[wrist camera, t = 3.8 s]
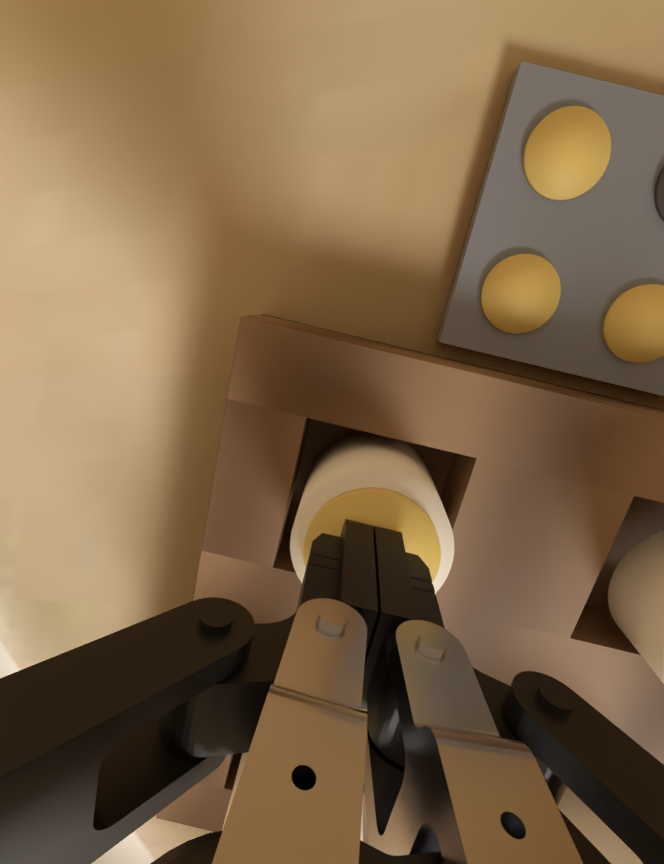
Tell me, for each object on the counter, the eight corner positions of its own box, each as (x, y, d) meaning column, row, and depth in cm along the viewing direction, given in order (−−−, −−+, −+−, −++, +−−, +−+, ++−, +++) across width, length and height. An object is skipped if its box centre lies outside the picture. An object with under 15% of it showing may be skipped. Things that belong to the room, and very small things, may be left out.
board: (827, 449, 16) (929, 482, 13) (603, 847, 21) (640, 932, 19) (262, 314, 16) (240, 317, 13) (183, 748, 21) (156, 817, 19)
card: (779, 134, 14) (804, 124, 13) (664, 395, 16) (679, 400, 15) (514, 71, 14) (524, 57, 13) (436, 340, 16) (440, 342, 15)
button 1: (448, 447, 16) (478, 500, 12) (412, 559, 17) (429, 642, 13) (321, 417, 16) (307, 458, 12) (295, 531, 17) (274, 605, 13)
